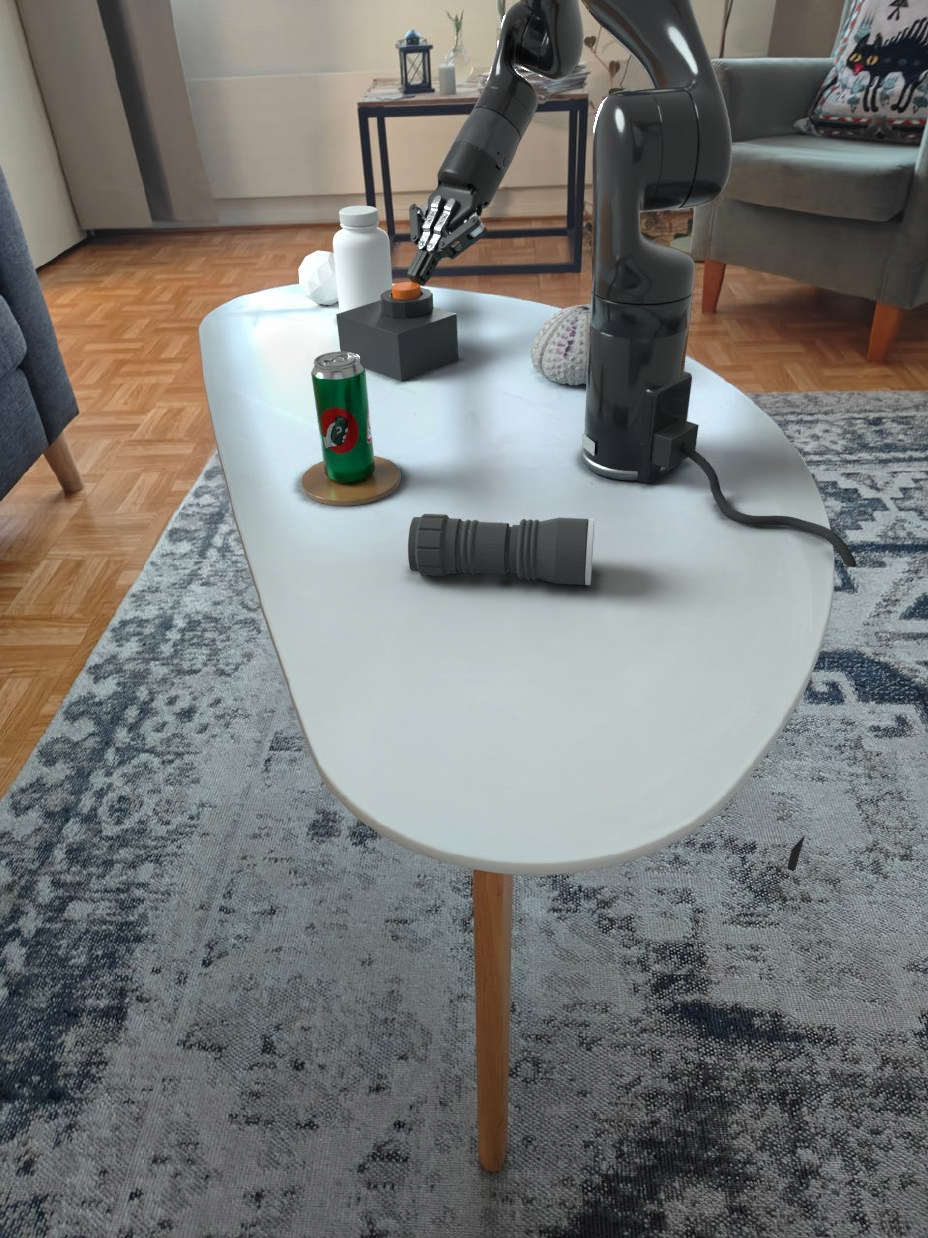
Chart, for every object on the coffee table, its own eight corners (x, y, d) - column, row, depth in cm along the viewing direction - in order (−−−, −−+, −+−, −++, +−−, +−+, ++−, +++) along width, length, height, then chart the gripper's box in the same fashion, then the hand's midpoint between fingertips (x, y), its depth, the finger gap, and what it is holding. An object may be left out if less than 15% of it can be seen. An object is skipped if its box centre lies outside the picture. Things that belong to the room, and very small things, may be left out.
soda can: (384, 478, 90) (373, 361, 83) (337, 491, 88) (322, 373, 81) (362, 459, 94) (350, 345, 87) (317, 471, 92) (301, 356, 85)
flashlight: (405, 587, 75) (400, 531, 72) (417, 553, 80) (413, 499, 77) (589, 597, 73) (592, 541, 70) (592, 562, 77) (595, 506, 74)
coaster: (421, 479, 91) (421, 474, 90) (344, 516, 85) (343, 511, 85) (358, 450, 97) (357, 445, 96) (282, 483, 91) (281, 478, 91)
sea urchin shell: (657, 381, 109) (663, 314, 105) (557, 400, 106) (559, 332, 101) (604, 346, 120) (608, 285, 115) (511, 363, 116) (511, 300, 111)
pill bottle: (392, 327, 129) (384, 215, 120) (337, 328, 129) (324, 216, 120) (397, 309, 135) (389, 201, 126) (344, 311, 135) (332, 203, 126)
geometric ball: (331, 316, 142) (345, 266, 142) (348, 310, 135) (363, 258, 135) (286, 297, 139) (300, 246, 138) (301, 290, 132) (316, 236, 131)
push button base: (459, 359, 118) (457, 296, 113) (401, 382, 112) (396, 317, 107) (399, 339, 125) (394, 279, 120) (341, 359, 119) (334, 298, 114)
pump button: (427, 305, 115) (426, 285, 114) (406, 312, 113) (404, 291, 112) (408, 300, 118) (407, 279, 116) (387, 306, 116) (385, 286, 114)
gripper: (427, 133, 115) (363, 255, 116) (502, 143, 107) (433, 274, 108) (458, 171, 121) (398, 287, 122) (532, 183, 113) (467, 307, 114)
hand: (415, 281), depth 115 cm, fingers closed
